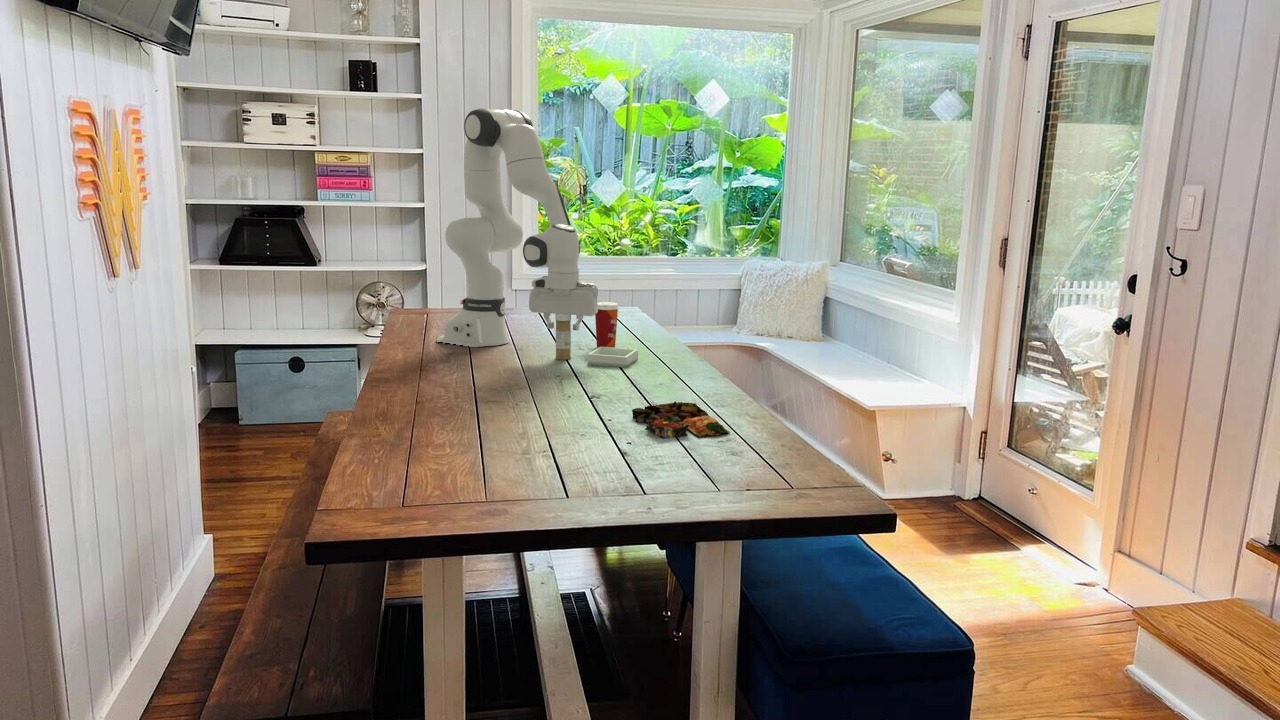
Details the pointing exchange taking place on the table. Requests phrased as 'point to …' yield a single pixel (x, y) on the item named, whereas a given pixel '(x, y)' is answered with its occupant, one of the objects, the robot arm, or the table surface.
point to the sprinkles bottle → (563, 336)
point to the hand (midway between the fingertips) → (563, 329)
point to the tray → (613, 357)
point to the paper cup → (606, 324)
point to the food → (678, 420)
